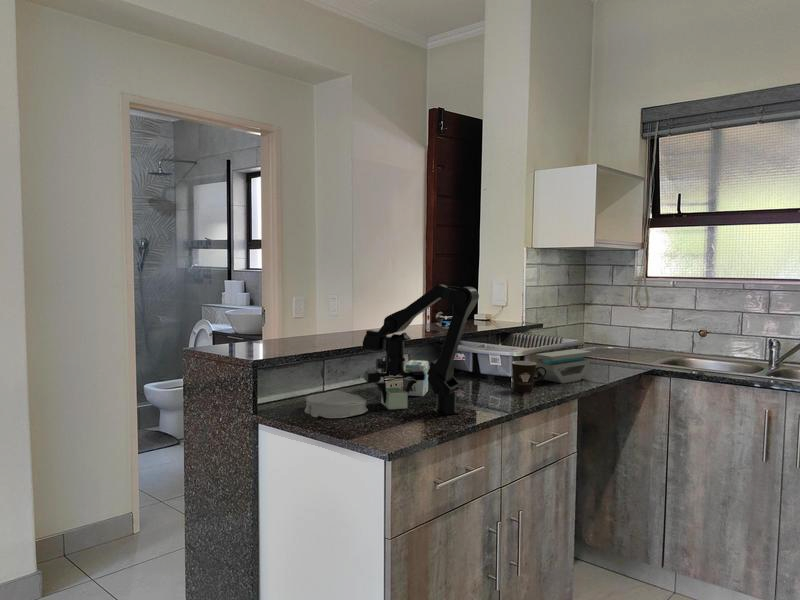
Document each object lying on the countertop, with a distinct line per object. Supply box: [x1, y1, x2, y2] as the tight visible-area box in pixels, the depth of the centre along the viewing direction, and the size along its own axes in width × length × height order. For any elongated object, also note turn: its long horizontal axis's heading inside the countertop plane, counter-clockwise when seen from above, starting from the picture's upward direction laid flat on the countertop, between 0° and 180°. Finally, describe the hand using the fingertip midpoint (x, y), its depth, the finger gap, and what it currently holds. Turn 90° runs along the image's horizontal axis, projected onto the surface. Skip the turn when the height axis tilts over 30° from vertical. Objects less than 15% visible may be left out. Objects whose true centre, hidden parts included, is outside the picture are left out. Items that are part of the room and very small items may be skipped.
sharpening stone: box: [534, 348, 593, 384], centre depth 245 cm, size 25×8×11 cm, turn 128°
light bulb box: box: [404, 359, 429, 397], centre depth 217 cm, size 11×7×11 cm, turn 168°
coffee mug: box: [511, 360, 546, 393], centre depth 224 cm, size 12×9×10 cm
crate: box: [380, 386, 409, 410], centre depth 199 cm, size 9×6×5 cm, turn 17°
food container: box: [304, 389, 369, 419], centre depth 191 cm, size 20×20×7 cm
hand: (394, 402), depth 199 cm, fingers closed on crate, 6 cm apart
